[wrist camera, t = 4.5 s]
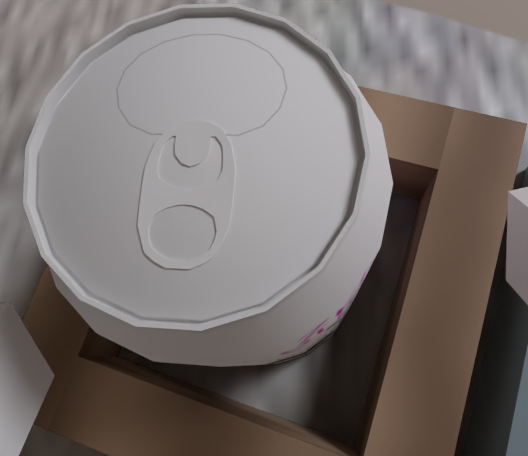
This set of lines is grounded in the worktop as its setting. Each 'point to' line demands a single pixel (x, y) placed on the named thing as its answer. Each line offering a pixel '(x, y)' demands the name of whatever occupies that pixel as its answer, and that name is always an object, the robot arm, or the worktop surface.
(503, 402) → the tray
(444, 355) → the can holder
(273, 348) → the white soda can
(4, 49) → the worktop surface
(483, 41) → the worktop surface
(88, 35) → the worktop surface
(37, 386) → the robot arm
